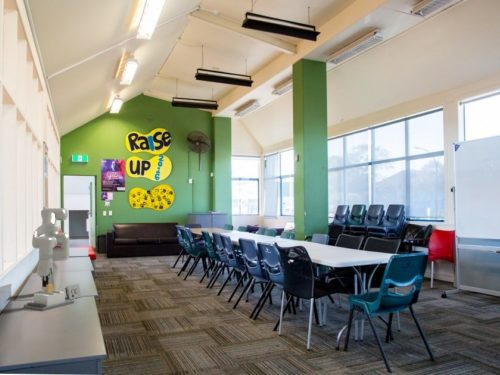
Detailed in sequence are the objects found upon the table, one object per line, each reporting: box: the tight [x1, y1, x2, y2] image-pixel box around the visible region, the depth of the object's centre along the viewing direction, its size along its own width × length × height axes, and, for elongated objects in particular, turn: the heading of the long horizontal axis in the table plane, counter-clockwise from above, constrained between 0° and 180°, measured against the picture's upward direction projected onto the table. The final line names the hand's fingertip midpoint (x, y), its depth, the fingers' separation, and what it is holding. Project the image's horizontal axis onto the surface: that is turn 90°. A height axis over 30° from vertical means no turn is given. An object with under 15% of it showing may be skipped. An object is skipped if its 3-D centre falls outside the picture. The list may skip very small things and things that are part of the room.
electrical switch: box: [64, 283, 82, 300], centre depth 270 cm, size 9×5×9 cm, turn 152°
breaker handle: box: [46, 284, 53, 292], centre depth 252 cm, size 2×3×5 cm, turn 152°
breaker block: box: [23, 290, 75, 312], centre depth 252 cm, size 19×21×9 cm
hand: (45, 286), depth 254 cm, fingers closed
